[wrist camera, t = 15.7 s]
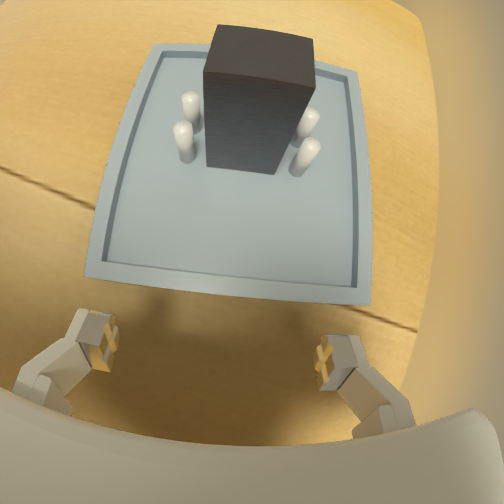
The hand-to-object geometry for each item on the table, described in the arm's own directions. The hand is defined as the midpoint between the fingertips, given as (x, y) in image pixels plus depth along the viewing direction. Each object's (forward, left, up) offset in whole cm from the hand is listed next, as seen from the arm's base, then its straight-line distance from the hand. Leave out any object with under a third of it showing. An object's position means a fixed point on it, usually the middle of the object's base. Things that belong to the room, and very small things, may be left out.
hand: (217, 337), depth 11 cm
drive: (+1, +13, -8) cm, 15 cm away
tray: (+1, +13, -10) cm, 16 cm away
